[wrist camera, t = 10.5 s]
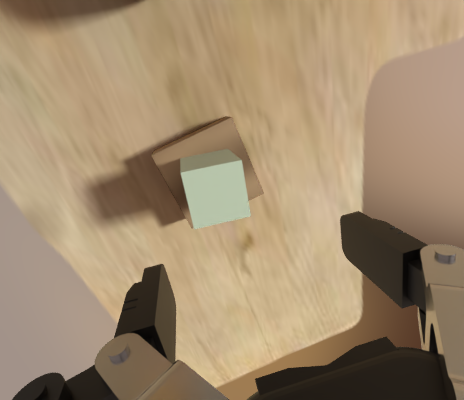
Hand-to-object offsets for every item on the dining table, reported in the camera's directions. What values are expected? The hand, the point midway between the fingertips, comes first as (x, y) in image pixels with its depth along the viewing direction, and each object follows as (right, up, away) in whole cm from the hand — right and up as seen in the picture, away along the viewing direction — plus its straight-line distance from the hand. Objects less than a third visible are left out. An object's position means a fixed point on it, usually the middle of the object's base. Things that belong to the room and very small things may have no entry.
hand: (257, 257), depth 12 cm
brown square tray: (-4, +6, +21) cm, 23 cm away
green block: (-4, +5, +18) cm, 19 cm away
